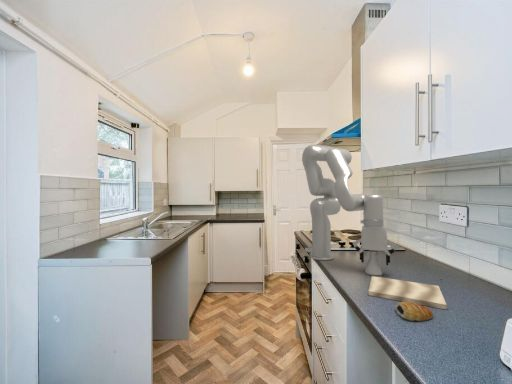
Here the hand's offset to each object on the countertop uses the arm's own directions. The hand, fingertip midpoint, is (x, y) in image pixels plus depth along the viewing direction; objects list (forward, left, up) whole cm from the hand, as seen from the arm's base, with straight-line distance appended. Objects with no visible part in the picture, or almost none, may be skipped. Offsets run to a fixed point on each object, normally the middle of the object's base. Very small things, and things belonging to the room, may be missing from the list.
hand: (374, 262), depth 108 cm
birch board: (+10, -16, -5) cm, 19 cm away
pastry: (+12, -32, -5) cm, 35 cm away
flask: (-1, 0, -5) cm, 5 cm away
